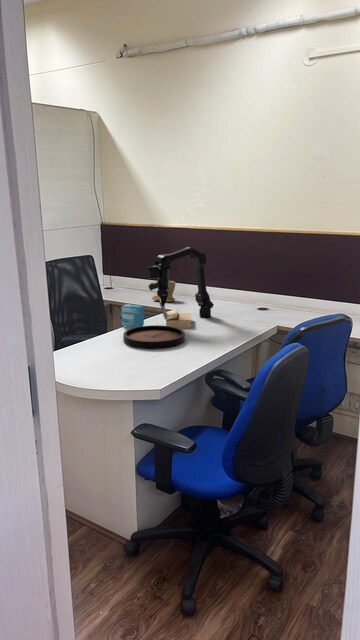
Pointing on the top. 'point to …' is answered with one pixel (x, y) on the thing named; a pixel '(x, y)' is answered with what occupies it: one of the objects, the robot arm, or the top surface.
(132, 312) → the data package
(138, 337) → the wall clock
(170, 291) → the tan suede boot shape
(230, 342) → the top surface
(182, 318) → the carton
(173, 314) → the carton flap
